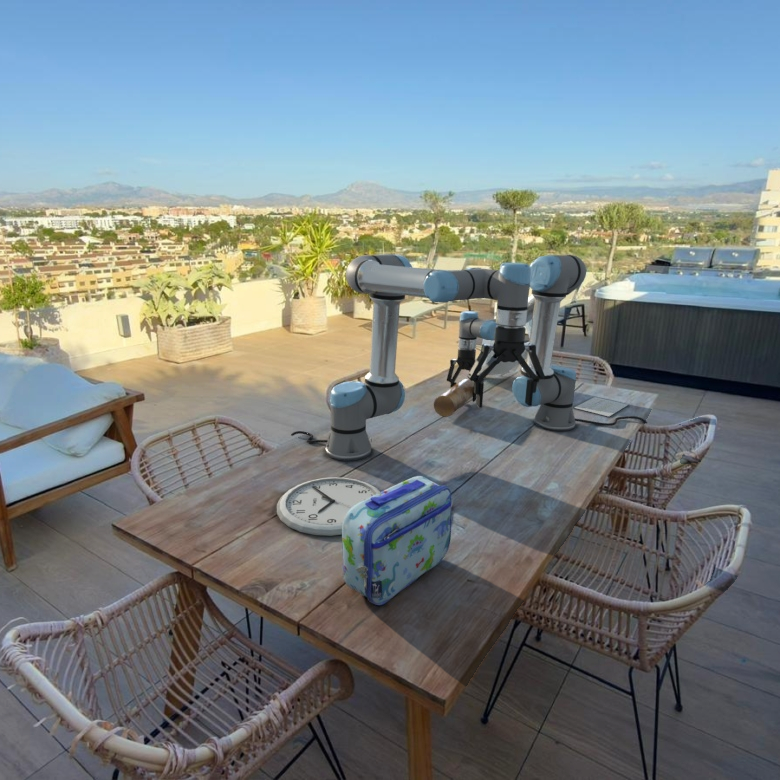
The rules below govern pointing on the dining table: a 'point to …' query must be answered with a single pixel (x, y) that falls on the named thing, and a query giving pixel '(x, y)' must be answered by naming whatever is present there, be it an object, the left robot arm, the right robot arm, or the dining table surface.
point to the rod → (454, 398)
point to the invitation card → (601, 406)
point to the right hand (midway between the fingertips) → (463, 398)
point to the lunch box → (395, 537)
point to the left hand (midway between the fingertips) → (503, 405)
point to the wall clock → (322, 504)
